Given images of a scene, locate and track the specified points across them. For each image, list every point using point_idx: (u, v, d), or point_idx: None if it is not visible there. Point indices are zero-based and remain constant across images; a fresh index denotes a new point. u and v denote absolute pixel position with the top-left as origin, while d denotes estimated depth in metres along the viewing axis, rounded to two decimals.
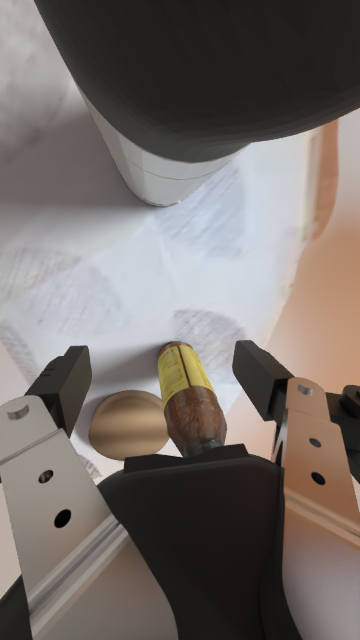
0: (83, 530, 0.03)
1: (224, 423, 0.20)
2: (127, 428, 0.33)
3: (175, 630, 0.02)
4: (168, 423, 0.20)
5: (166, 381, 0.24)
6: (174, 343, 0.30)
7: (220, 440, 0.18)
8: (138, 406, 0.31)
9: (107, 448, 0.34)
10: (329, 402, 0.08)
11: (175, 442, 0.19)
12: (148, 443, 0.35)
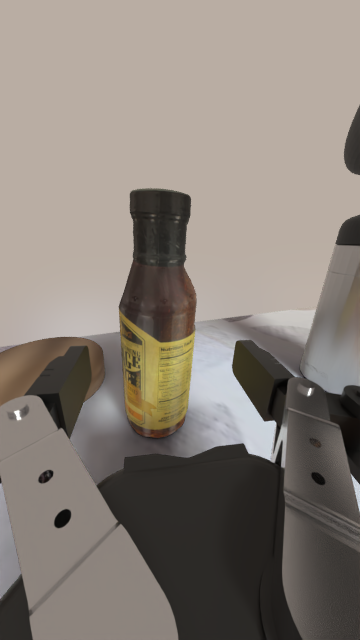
0: (83, 530, 0.03)
1: (176, 296, 0.14)
2: None
3: (176, 631, 0.02)
4: None
5: None
6: None
7: (179, 265, 0.14)
8: (95, 363, 0.24)
9: (34, 346, 0.28)
10: (329, 402, 0.08)
11: None
12: (6, 376, 0.21)
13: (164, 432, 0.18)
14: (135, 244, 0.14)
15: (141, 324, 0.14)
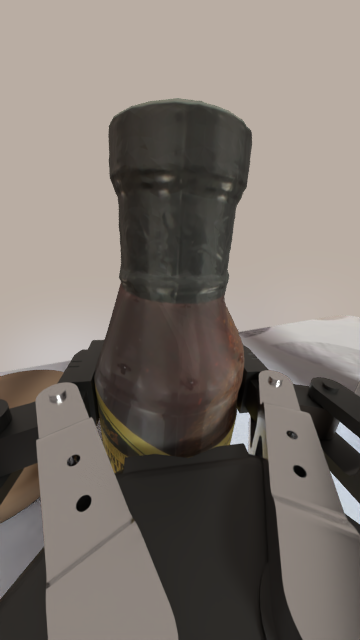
0: (100, 518, 0.03)
1: (214, 368, 0.06)
2: None
3: None
4: None
5: None
6: None
7: (220, 296, 0.07)
8: None
9: None
10: (297, 393, 0.08)
11: None
12: None
13: None
14: (123, 252, 0.06)
15: (138, 426, 0.06)
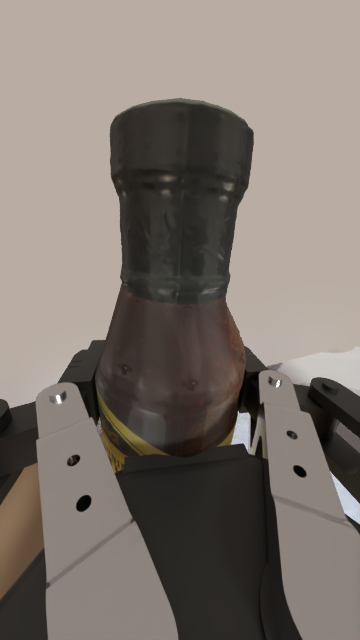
0: (100, 518, 0.03)
1: (216, 368, 0.06)
2: None
3: None
4: None
5: None
6: None
7: (221, 296, 0.07)
8: None
9: None
10: (297, 393, 0.08)
11: None
12: (10, 537, 0.16)
13: None
14: (124, 252, 0.06)
15: (139, 427, 0.06)
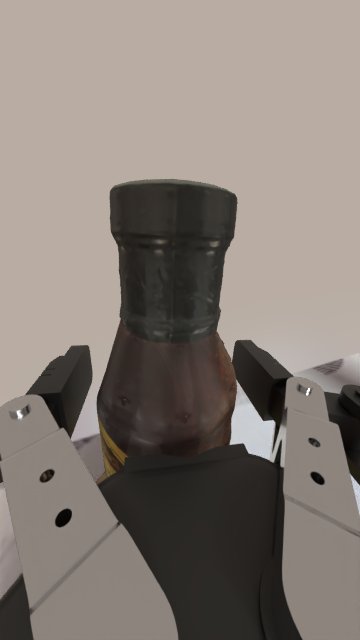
0: (84, 529, 0.03)
1: (207, 401, 0.07)
2: None
3: (176, 631, 0.02)
4: None
5: None
6: None
7: (212, 332, 0.07)
8: None
9: None
10: (328, 402, 0.08)
11: None
12: None
13: None
14: (123, 295, 0.07)
15: (137, 455, 0.07)
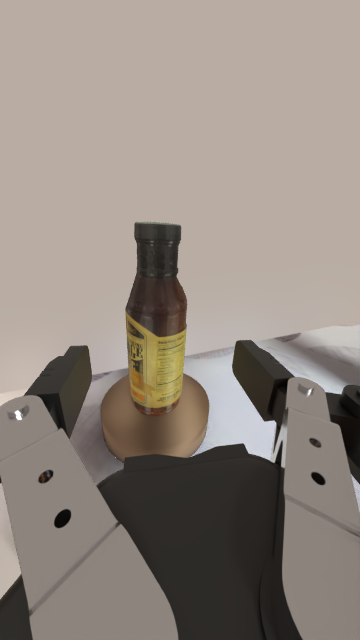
0: (83, 530, 0.03)
1: (170, 301, 0.18)
2: None
3: (176, 631, 0.02)
4: None
5: None
6: None
7: (173, 277, 0.19)
8: (205, 402, 0.25)
9: None
10: (329, 402, 0.08)
11: None
12: (135, 419, 0.23)
13: (162, 410, 0.23)
14: (138, 261, 0.18)
15: (143, 323, 0.18)
